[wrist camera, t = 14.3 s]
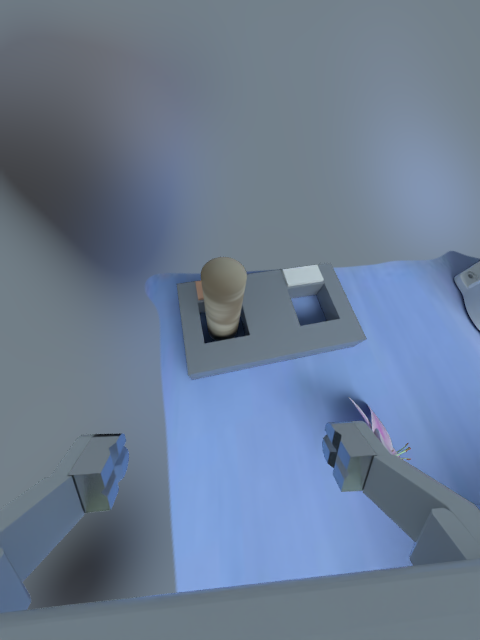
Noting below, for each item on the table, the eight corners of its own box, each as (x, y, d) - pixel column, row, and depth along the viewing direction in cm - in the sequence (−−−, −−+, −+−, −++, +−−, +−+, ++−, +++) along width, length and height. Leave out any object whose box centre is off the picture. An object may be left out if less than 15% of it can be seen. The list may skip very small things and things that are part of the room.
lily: (410, 534, 24) (522, 527, 18) (328, 561, 19) (444, 564, 13) (355, 417, 32) (419, 385, 26) (287, 415, 27) (347, 374, 21)
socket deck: (322, 274, 36) (331, 260, 33) (353, 346, 31) (368, 337, 28) (180, 295, 32) (176, 282, 29) (191, 380, 27) (187, 374, 24)
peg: (224, 309, 32) (226, 249, 21) (243, 330, 31) (256, 278, 20) (201, 326, 30) (191, 271, 20) (220, 348, 29) (220, 303, 18)
